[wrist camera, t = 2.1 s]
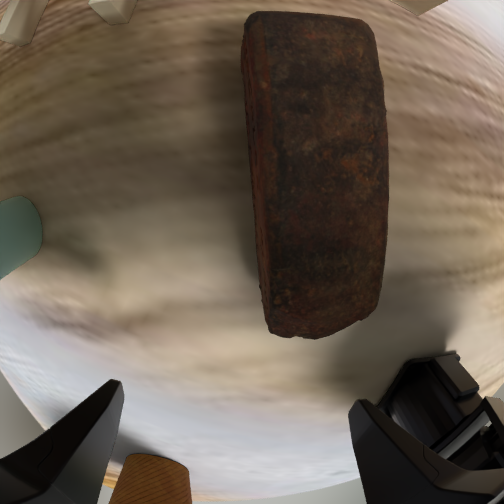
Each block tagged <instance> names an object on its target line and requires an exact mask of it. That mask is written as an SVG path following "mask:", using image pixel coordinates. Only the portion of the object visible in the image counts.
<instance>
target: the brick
mask: <svg viewBox="0 0 504 504" xmlns="http://www.w3.org/2000/svg"><path fill="white" fill-rule="evenodd" d="M241 72H242V74H243V82H244V91H245V111H246V125H247V133H248V148H249V161H250V173H251V183H252V193H253V208H254V218H255V236H256V249H257V259H258V271H259V282H260V285H259V288H260V290H261V295H262V303H263V309H264V315H265V320H266V323H267V325H268V330H269V332H270V333H271V334H275V335H278V336H280V337H283V338H292V337H294V336H298V337H303V338H305V339H314V340H315V339H319V338H323V337H327V336H330V335H332V334H334V333H336V332H338V331H340V330H342V329H344V328H346V327H348V326H350V325H351V324H353V323H355V322H357V321H358V320H361V321H362V320H363V319H365V318H367V317H368V316H369V314H371V313H372V312H373V311H374V310H375V309H376V307H377V304H378V300H379V296H380V291H381V287H382V280H383V271H384V265H385V254H386V246H387V235H388V202H389V164H388V161H389V150H388V132H387V123H386V108H385V102H384V82H383V78H382V75H381V71H380V68H379V60H378V53H377V47H376V41H375V37H374V33H373V32H372V30H371V28H370V27H369V25H368V24H367V23H365V22H364V21H363V20H360V19H356V18H348V17H341V16H334V15H325V14H314V13H300V12H282V11H257V12H255V13H253V14H251V15H250V16H249V17H248V18H247V20H246V22H245V24H244V35H243V40H242V46H241Z"/></svg>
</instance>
